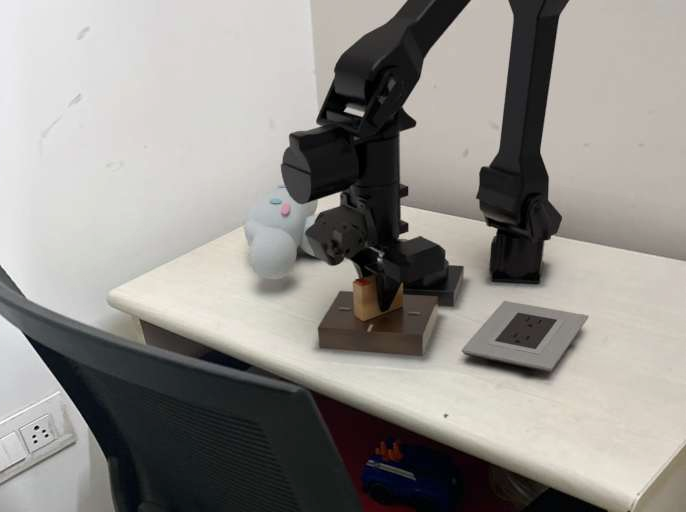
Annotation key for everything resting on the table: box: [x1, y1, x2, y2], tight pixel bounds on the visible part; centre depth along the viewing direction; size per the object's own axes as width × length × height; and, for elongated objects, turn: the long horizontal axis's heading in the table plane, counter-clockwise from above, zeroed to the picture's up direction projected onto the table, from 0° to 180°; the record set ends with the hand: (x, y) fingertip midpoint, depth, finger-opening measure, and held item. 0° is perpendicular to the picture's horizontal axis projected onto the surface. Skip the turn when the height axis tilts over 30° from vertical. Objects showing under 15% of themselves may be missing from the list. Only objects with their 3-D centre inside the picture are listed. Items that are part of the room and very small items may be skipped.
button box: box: [403, 258, 465, 308], centre depth 104 cm, size 10×8×4 cm
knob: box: [352, 274, 403, 321], centre depth 94 cm, size 6×2×5 cm, turn 120°
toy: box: [243, 184, 319, 280], centre depth 116 cm, size 30×10×15 cm
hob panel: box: [317, 290, 439, 357], centre depth 97 cm, size 13×10×3 cm
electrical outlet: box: [461, 300, 589, 373], centre depth 91 cm, size 13×10×2 cm
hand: (378, 307), depth 95 cm, fingers closed on knob, 2 cm apart
